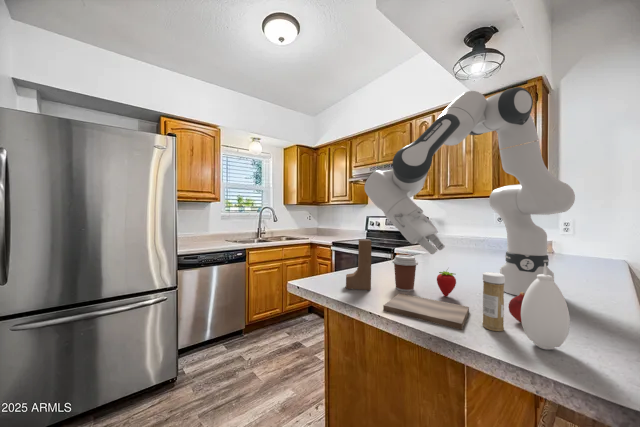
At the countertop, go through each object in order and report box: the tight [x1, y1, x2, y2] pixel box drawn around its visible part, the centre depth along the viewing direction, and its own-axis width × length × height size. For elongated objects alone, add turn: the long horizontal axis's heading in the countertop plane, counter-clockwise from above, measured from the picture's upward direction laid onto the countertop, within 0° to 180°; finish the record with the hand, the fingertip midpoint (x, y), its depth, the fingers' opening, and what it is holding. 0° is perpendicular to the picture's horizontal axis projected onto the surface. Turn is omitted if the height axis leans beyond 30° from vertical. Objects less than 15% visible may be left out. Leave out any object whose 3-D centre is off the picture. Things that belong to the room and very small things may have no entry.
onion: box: [508, 292, 525, 324], centre depth 67 cm, size 6×6×8 cm
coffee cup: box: [391, 254, 419, 292], centre depth 96 cm, size 9×9×12 cm
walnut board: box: [382, 292, 470, 331], centre depth 74 cm, size 14×20×2 cm
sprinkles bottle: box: [481, 271, 505, 332], centre depth 64 cm, size 5×5×14 cm
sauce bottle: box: [521, 263, 571, 351], centre depth 55 cm, size 8×8×18 cm
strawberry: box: [436, 268, 457, 298], centre depth 88 cm, size 6×8×10 cm
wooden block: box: [345, 238, 372, 291], centre depth 96 cm, size 9×4×18 cm, turn 84°
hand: (439, 250), depth 71 cm, fingers open, 8 cm apart
